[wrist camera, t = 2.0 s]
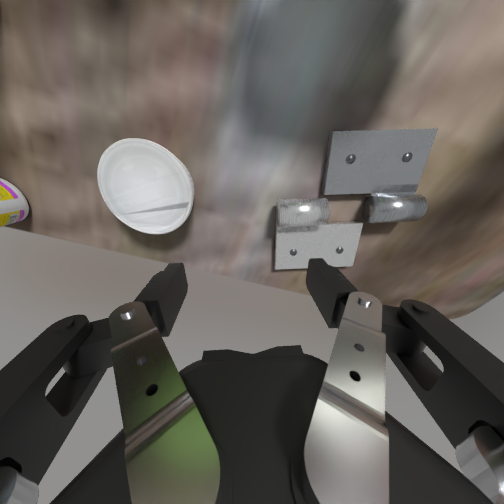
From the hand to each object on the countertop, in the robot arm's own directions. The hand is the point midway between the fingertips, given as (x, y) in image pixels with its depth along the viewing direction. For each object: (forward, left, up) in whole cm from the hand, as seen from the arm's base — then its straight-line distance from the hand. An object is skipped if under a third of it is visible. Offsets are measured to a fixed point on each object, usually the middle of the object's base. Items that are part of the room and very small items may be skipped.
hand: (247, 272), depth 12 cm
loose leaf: (-12, +5, -19) cm, 23 cm away
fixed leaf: (-19, -4, -19) cm, 27 cm away
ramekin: (+12, -4, -19) cm, 23 cm away
